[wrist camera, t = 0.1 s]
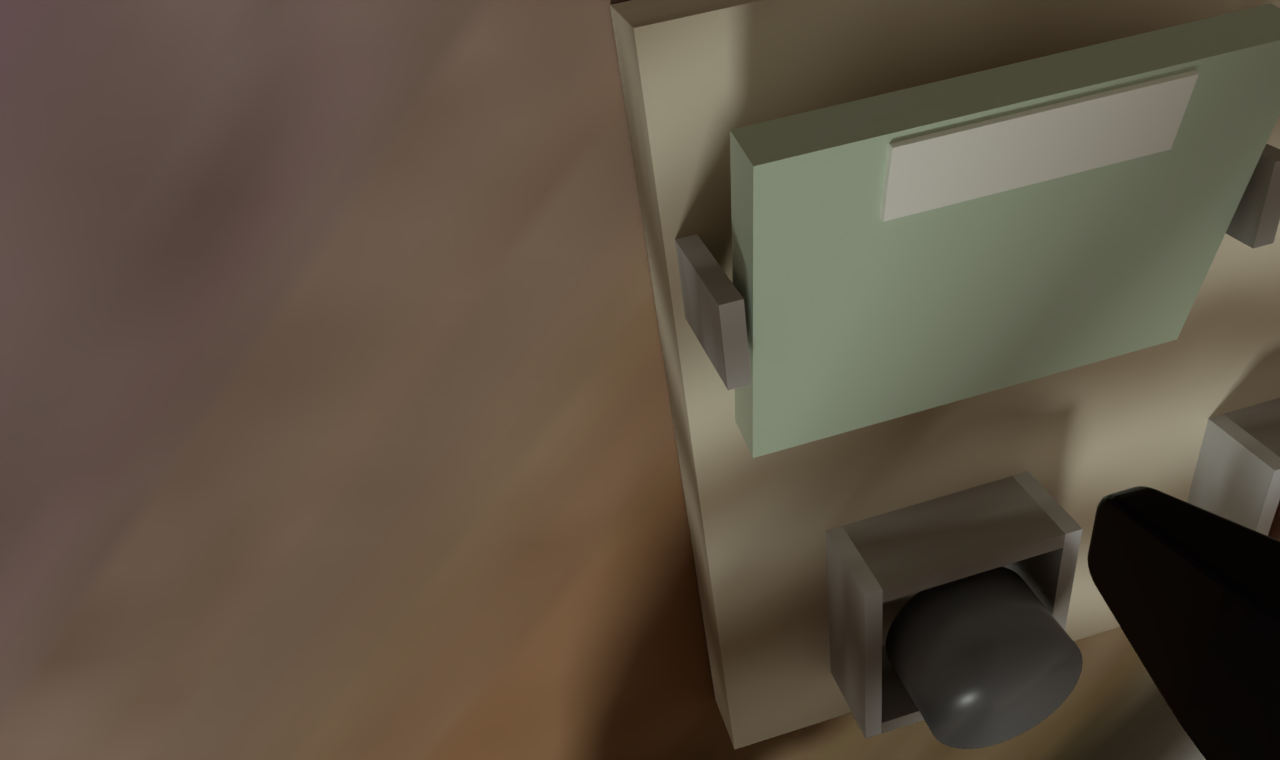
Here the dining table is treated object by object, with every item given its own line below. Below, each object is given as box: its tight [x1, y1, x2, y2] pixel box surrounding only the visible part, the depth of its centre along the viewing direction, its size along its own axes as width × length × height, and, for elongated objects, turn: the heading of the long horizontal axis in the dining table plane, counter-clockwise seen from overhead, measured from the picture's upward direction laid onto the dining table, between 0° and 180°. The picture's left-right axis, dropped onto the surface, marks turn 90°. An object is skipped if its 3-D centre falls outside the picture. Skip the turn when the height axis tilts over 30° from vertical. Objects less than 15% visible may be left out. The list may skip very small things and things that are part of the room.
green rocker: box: [730, 4, 1280, 458], centre depth 20 cm, size 8×11×1 cm
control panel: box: [610, 0, 1280, 749], centre depth 26 cm, size 23×25×5 cm
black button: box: [886, 567, 1082, 749], centre depth 26 cm, size 4×4×2 cm
